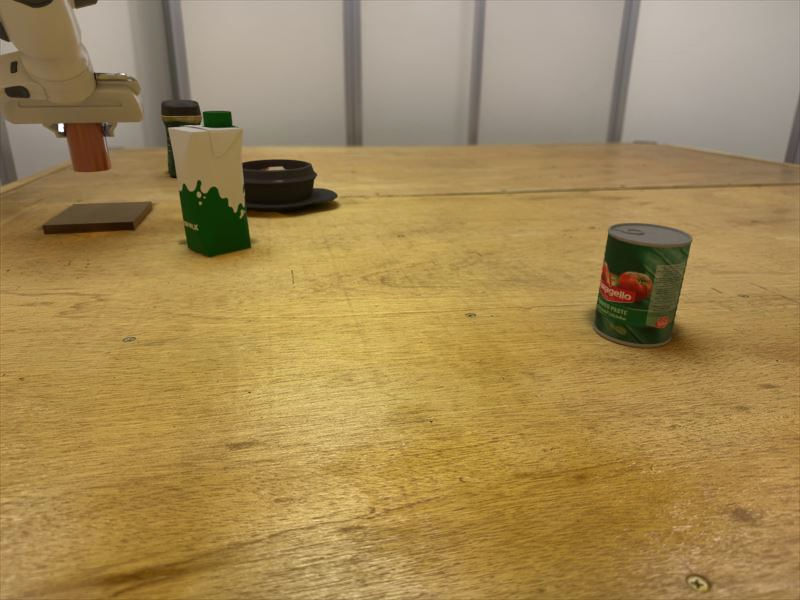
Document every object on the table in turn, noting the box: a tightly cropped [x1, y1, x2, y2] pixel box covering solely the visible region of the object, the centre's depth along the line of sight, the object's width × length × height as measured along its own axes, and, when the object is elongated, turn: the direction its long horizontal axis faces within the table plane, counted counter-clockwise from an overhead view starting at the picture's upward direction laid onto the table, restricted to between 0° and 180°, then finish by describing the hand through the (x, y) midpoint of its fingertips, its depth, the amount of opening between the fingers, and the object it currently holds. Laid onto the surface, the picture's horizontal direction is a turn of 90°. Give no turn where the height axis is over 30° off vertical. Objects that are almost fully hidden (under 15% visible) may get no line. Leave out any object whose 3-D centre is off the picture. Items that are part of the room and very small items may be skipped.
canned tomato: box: [592, 222, 694, 349], centre depth 57 cm, size 8×8×11 cm
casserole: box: [242, 158, 339, 213], centre depth 110 cm, size 25×19×8 cm
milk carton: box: [168, 110, 252, 258], centre depth 82 cm, size 9×9×20 cm
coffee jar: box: [160, 99, 203, 178], centre depth 140 cm, size 10×8×19 cm
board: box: [41, 200, 153, 235], centre depth 100 cm, size 14×16×2 cm
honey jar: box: [62, 123, 112, 173], centre depth 95 cm, size 6×6×11 cm
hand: (86, 134), depth 95 cm, fingers closed on honey jar, 6 cm apart
